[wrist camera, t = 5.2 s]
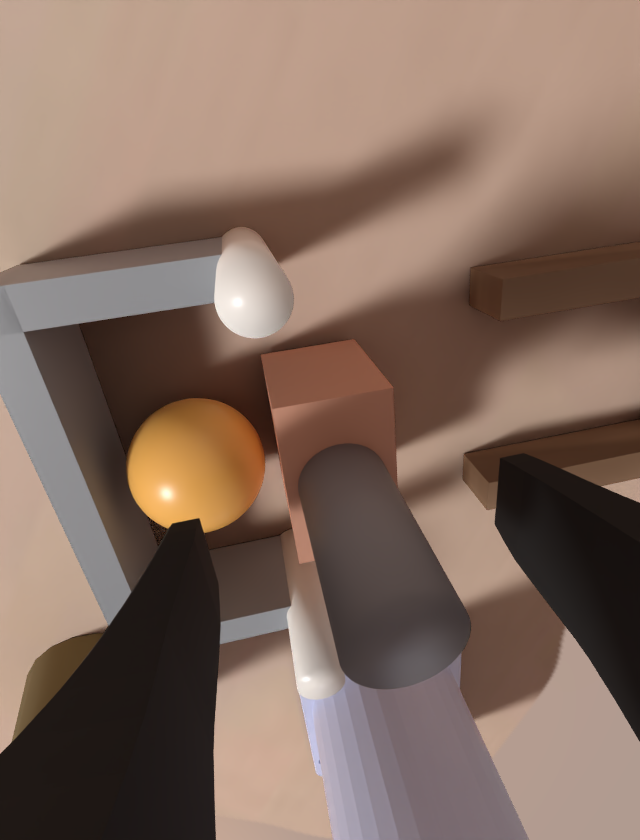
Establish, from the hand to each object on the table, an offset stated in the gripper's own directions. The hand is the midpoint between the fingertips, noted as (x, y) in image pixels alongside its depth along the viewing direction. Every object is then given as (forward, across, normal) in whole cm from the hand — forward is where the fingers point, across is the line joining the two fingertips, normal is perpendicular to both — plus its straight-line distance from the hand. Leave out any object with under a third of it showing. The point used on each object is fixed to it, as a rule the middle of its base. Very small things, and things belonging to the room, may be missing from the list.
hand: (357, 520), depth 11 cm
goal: (+6, +4, 0) cm, 7 cm away
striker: (+6, 0, 0) cm, 6 cm away
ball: (+4, +4, 0) cm, 6 cm away
